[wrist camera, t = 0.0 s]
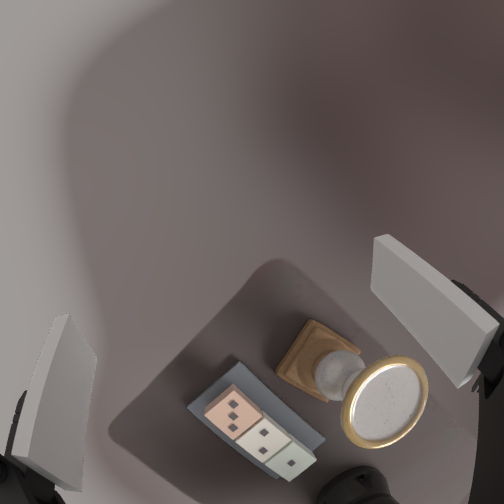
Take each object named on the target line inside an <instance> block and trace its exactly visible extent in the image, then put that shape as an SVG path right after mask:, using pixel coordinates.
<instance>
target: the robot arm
mask: <svg viewBox="0 0 504 504" xmlns="http://www.w3.org/2000/svg"><path fill="white" fill-rule="evenodd" d="M371 291H372V292H373V293H374V294H375V295H376V296H377V297H378V298H379V299H380V300H381V301H382V302H383V303H384V305H385V306H386V307H387V308H388V309H389V310H390V311H391V312H392V313H393V314H394V315H395V316H396V318H397V319H398V320H399V321H400V322H401V323H402V324H403V325H404V326H405V327H406V329H407V330H408V331H409V332H410V333H411V334H412V335H413V337H414V338H415V339H416V340H417V341H418V342H419V343H420V344H421V346H422V347H423V348H424V349H425V350H426V351H427V353H428V354H429V355H430V356H431V357H432V358H433V359H434V361H435V362H436V363H437V364H438V365H439V367H440V368H441V369H442V370H443V371H444V373H445V374H446V375H447V376H448V377H449V379H450V380H451V381H452V382H453V384H454V385H455V386H456V387H457V388H459V387H461V386H462V385H464V384H465V383H466V382H468V381H469V380H470V379H471V378H472V377H473V375H474V373H475V372H476V370H477V368H478V369H479V370H480V371H481V374H480V375H479V377H478V379H477V380H476V382H475V384H474V385H473V387H472V391H471V392H474V391H475V389H476V388H477V386H478V385H479V389H478V391H477V392H479V425H478V441H477V451H476V460H475V468H474V475H473V481H472V487H471V492H470V497H469V502H468V504H504V318H503V317H501V316H500V315H499V314H498V313H497V312H496V311H495V310H494V309H492V308H491V307H490V306H489V305H488V304H487V303H486V302H484V301H483V300H481V299H480V297H479V296H477V295H476V294H473V291H471V290H470V289H469V288H468V287H466V286H465V285H464V284H461V283H459V282H457V281H455V280H451V281H450V280H448V279H447V278H446V277H445V276H443V275H442V274H441V273H440V272H438V271H437V270H436V269H435V268H433V267H432V266H431V265H429V264H428V263H427V262H425V261H424V260H423V259H422V258H420V257H419V256H417V255H416V254H415V253H414V252H412V251H411V250H410V249H408V248H407V247H405V246H404V245H403V244H401V243H400V242H399V241H397V240H396V239H394V238H393V237H392V236H390V235H389V234H386V235H382V236H379V237H375V238H374V250H373V265H372V277H371ZM97 361H98V358H97V357H96V355H95V354H94V352H93V351H92V349H91V348H90V346H89V345H88V343H87V342H86V340H85V339H84V337H83V335H82V334H81V332H80V330H79V329H78V327H77V325H76V324H75V322H74V320H73V319H72V317H71V315H70V313H69V314H65V315H60V316H56V317H55V319H54V322H53V324H52V326H51V329H50V331H49V333H48V336H47V338H46V341H45V343H44V346H43V348H42V351H41V353H40V356H39V359H38V361H37V364H36V367H35V370H34V373H33V375H32V378H31V381H30V384H29V387H28V390H26V391H24V393H23V395H22V396H21V398H20V399H19V401H18V404H17V407H16V411H15V413H16V414H15V415H14V418H13V424H12V425H11V429H10V433H9V437H8V441H7V446H6V451H5V455H4V456H2V455H1V454H0V504H65V502H64V501H63V499H62V498H61V496H60V495H59V494H58V493H57V491H55V490H54V488H55V485H57V486H59V487H61V488H62V489H64V490H68V491H77V492H82V478H83V462H84V448H85V439H86V429H87V421H88V414H89V406H90V400H91V394H92V387H93V382H94V376H95V371H96V366H97ZM317 504H399V503H398V502H397V501H396V500H395V499H394V498H393V497H392V496H391V494H390V491H389V487H388V484H387V480H386V478H385V477H384V475H383V474H382V473H381V472H380V471H379V470H377V469H375V468H372V467H358V468H354V469H351V470H348V471H346V472H344V473H342V474H340V475H338V476H337V477H335V478H334V479H332V480H331V481H330V482H329V483H328V484H327V485H326V486H325V487H324V488H323V489H322V491H321V492H320V494H319V496H318V499H317Z"/></svg>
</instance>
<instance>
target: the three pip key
mask: <svg viewBox="0 0 504 504" xmlns="http://www.w3.org/2000/svg"><path fill="white" fill-rule="evenodd" d="M204 416H205V417H207V418H208V419H209V420H210V421H211V422H212V423H213V424H215V425H216V426H217V427H218V428H219V429H220V430H222V431H223V432H224V433H225V434H226V435H227V436H229V437H230V438H231V439H232V440H234V439H235V438H236V437H238V436H239V435H240V434H242V433H243V432H244V431H245V430H247V429H248V428H249V427H250V426H251V425H253V424H254V423H255V422H256V421H257V420H259V419H260V418H261V417H262V413H261V410H260V408H259V407H258V406H257V405H256V404H255V403H254V402H253V401H251V400H250V399H249V398H248V397H247V396H246V395H245V394H244V393H243V392H242V391H241V390H240V389H238V388H237V387H236V386H235V385H234V384H232V385H231V386H230V387H228V388H227V389H226V390H225V391H224V392H223V393H221V394H220V395H219V396H218V397H217V398H216V399H214V400H213V401H212V402H211V403H210V404H208V405H207V406H206V407H205V413H204Z"/></svg>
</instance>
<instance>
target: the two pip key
mask: <svg viewBox="0 0 504 504" xmlns="http://www.w3.org/2000/svg"><path fill="white" fill-rule="evenodd" d="M261 413H262V417H261V418H260V419H259V420H257V421H256V422H255V423H254V424H253V425H251V426H250V427H249V428H248V429H247V430H245V431H244V432H243V433H242V434H240V435H239V436H238V437H236V438H235V442H236V443H237V444H238V445H240V446H241V447H242V448H244V449H245V450H246V451H247V452H249V453H250V454H251V455H253V456H254V457H255V458H256V459H258V460H259V461H261V462H262V463H263V462H265V461H266V460H267V459H269V458H270V457H271V456H272V455H274V454H275V453H276V452H277V451H279V450H280V449H281V448H282V447H284V446H285V445H286V444H287V443H289V442H290V441H291V439H290V437H289V435H288V433H287V431H286V430H285V429H284V428H282V427H281V426H280V425H279V424H278V423H276V422H275V421H274V420H273V419H272V418H271V417H269V416H268V415H267V414H266V413H265V412H264V411H263V410H261Z"/></svg>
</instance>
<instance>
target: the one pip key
mask: <svg viewBox="0 0 504 504" xmlns="http://www.w3.org/2000/svg"><path fill="white" fill-rule="evenodd" d="M288 435H289V437H290V439H291V441H290V442H289V443H287V444H286V445H285V446H284V447H282V448H281V449H280V450H279V451H277V452H276V453H275V454H274V455H272V456H271V457H270V458H269V459H267V460H266V461H265V462H264V464H265V465H266V466H267V467H269V468H270V469H272V470H273V471H274V472H276V473H277V474H279V475H280V476H282V477H283V478H284V479H286V480H287V481H289V482H290V481H291V480H292V479H294V478H295V477H296V476H298V475H299V474H300V473H302V472H303V471H304V470H305V469H307V468H308V467H309V466H310V465H312V464H313V463H314V462H315V461H316V460H317V459H316V458H315V456H314V454H313V453H312V451H311V450H310V449H308V448H307V447H306V446H304V445H303V444H302V443H301V442H299V441H298V440H297V439H296V438H294V437H293V436H292V435H291V434H290V433H288Z"/></svg>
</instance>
